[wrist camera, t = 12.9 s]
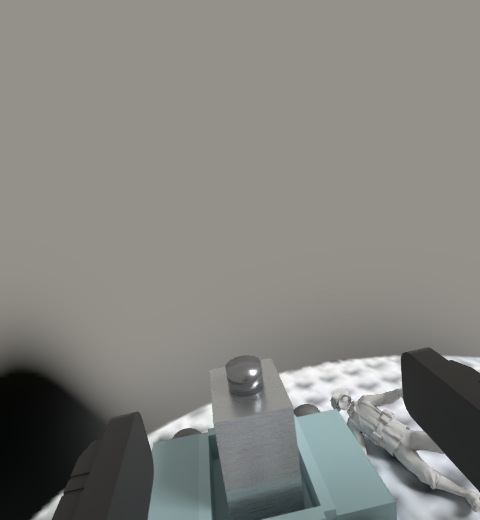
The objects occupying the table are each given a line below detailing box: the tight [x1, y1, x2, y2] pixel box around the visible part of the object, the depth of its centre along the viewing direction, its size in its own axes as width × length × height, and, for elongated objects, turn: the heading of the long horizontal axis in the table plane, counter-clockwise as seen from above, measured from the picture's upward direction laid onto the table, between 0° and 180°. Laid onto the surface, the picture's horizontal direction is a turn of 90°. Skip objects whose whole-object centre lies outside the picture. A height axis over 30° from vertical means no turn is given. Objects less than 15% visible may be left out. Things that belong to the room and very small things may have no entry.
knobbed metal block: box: [210, 356, 305, 520], centre depth 23 cm, size 5×6×11 cm
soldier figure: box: [331, 388, 480, 512], centre depth 27 cm, size 8×5×12 cm
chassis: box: [148, 404, 397, 520], centre depth 24 cm, size 16×12×4 cm
